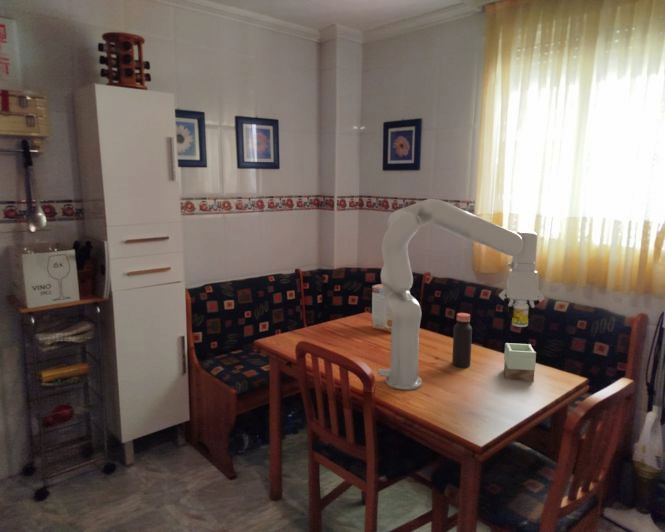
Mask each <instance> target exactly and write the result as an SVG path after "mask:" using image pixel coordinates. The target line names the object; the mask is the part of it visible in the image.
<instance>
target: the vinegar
mask: <svg viewBox="0 0 665 532" xmlns="http://www.w3.org/2000/svg"><path fill="white" fill-rule="evenodd" d="M456 322H457V323H456V324H455V325H454V326H453V335H452V336H453V338H452V339H453V340H452V357H451V358H452V360H451V362H452V363H451V364H452V365H453V366H454V367H458V368H469V367H470V366H471V360H472V359H471V357H472V356H471V355H472V340H473V336H472V335H473V327H472V326H471V324H470V322H471V314H470V313H468V312H467V313H466V312H458V313H456Z"/></svg>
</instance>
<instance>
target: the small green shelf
mask: <svg viewBox="0 0 665 532" xmlns="http://www.w3.org/2000/svg"><path fill="white" fill-rule="evenodd" d="M503 357H504V358H503V360H504V363H505V362H506V365H507V367H508V369H521V370H534V371H536V359H537V352H536V351H535V350H534V348H533V347H532V344H530V343H528V344H527V343H515V342H514V343H512V342H511V343H509V342H505V344H504V354H503Z"/></svg>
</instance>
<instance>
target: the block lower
mask: <svg viewBox="0 0 665 532" xmlns="http://www.w3.org/2000/svg"><path fill="white" fill-rule="evenodd" d="M503 365H504V366H503V369H504V370H503V372H504V376H505V378H506V380H509V381H519V382H532V383H533V382H535V370H521V369H508V367H507V365H506V362H505V361H504V363H503Z"/></svg>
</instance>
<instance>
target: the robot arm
mask: <svg viewBox="0 0 665 532" xmlns="http://www.w3.org/2000/svg"><path fill="white" fill-rule="evenodd" d="M428 224H429V225H433V226H435V227H437V228H440V229H441V230H445V231H447V232H449V233H451V234H453V235H454V236H455V235H456V236H458V237H460V238H463V239H465V240H468V241H471V242H474V243H478V244H481V245H483V246H486V247H488V248H491V249H492V250H493V251H495V252H497V253H499V254H503V255H506V256H510V257H511V256H512V258H511V262H508V263H507V267H508V268H510V269H509V272H508V276H507V281H506V282H507V283H506V288H504V289H503V290H502V291H501V292H500V293H499V294H498V297H499V298H500V299H501V300H502V301H504V303H506V305H507V306H508V307H507V309H508V310H507V315H509V317H510V319H512V317H513V304H514V303H515V300H527V301H528V302H529V304H528V306H529V316H528V320H531V319H532V317H533V316H534V308H535V307H536V306H537V305H539V304H540V303H541V302H543V300H545V299H546V298H545V296H544V294H542V292H541V291H540V290H539V274H538V271H537V270H536V263H537V262H536V260H537V247H538V234H537V233H536V232H535V231H532V230H517V231H512V230H509V229H507V228H505V227H502V226H500V225H498V224H495V223H493V222H491V221H489V220H486V219H484V218H482V217H480V216H478V215H476V214H473V213H471V212H470V211H466V210H464V209H462V208H460V207H457V206H455V205H453V204H451V203H449V202H446V201H444V200H441V199H435V198H427V199H424V200H421V201H419V202H416V203H413V204H410V205H408V206H405V207H403V208H399V209H397V210H395V211H393V212H392V213H391V214H390V215H389V217H388V220H387V226H388V228H387V229H386V231H385V234H384V235H383V239H382V242H381V243H382V244H381V252H382V258H383V266H382V268H381V271H380V283H381V284H382V287H383V292H384V297H385V302H386V305H387V308H388V310H389V311H390V312H391V314H392V315H393V322H392V328H391V332H390V366H389V368H386V369H384V368H377V369H378V370H377V374H378V375H379V376H380V377H385V383H386V384H387V385H388V386H389V387H391V388H393V389H396V390H403V391H410V390H417V389H418V388H420V387H421V386H422V385H423V380H422V378H421V377H420V376H419V375H418V373H419V372H418V371H419V346H420V344H419V343H420V341H419V340H420V339H419V337H420V326H421V320H422V308H421V305H420V303H419V301H418V300H417V299H416V297H414V296H413V295H411V288H412V287H413V284H414V277H413V271H412V267H411V262H410V257H409V248H408V247H409V243H410V242H411V239H412V238H413V237H414V236H415V235H416V234H417V233H418V231H419V229H420V228H421V227H424V226H426V225H428ZM505 295H506V296H505Z"/></svg>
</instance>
